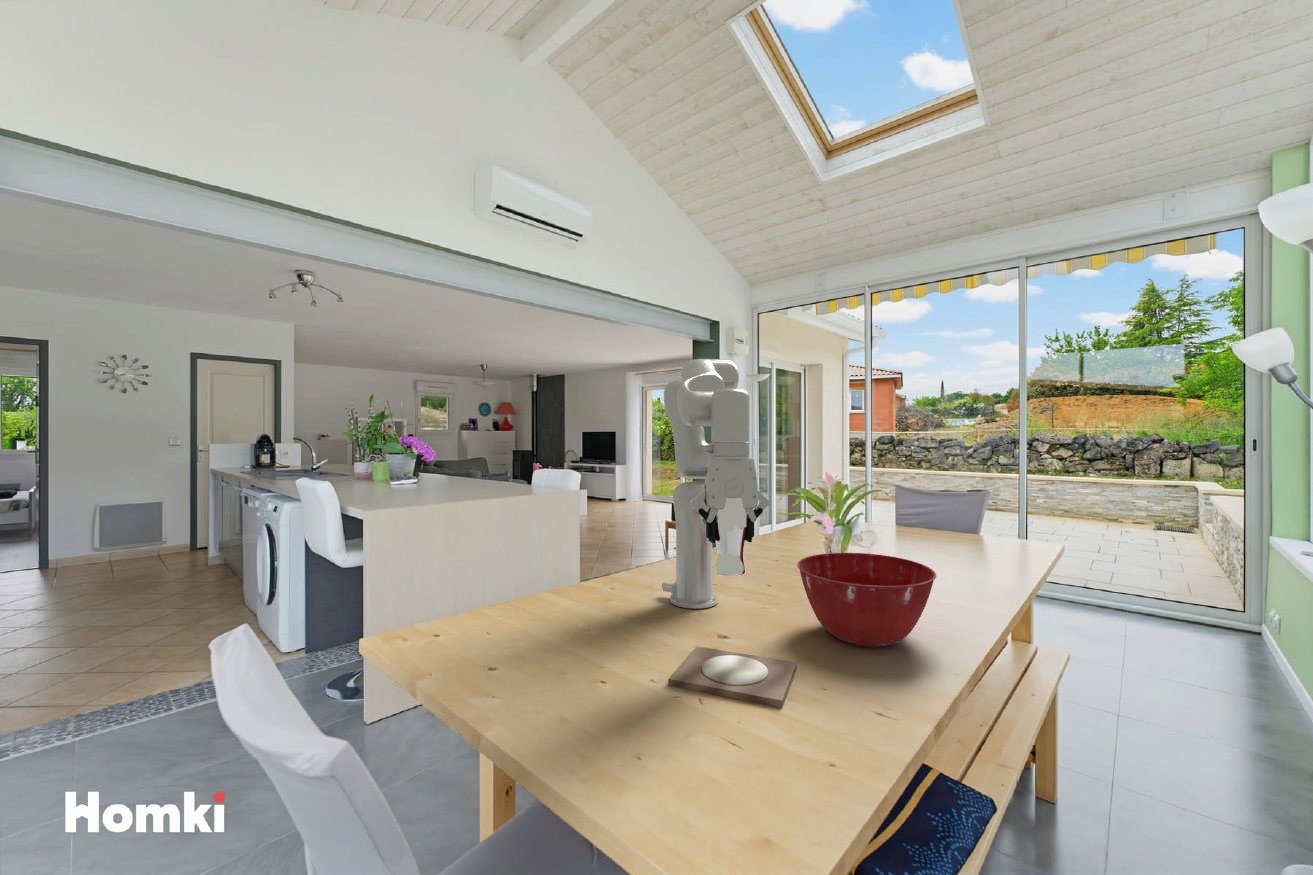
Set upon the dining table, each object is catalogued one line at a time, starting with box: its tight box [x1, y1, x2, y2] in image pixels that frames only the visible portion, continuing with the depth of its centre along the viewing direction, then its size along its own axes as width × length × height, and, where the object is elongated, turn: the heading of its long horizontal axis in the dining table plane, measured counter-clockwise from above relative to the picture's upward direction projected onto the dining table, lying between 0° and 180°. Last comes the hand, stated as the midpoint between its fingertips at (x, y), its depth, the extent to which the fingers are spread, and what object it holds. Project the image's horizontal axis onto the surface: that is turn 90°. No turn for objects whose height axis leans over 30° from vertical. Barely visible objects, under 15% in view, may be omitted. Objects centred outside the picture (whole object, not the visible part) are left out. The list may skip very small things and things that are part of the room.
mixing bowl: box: [796, 552, 937, 648], centre depth 122 cm, size 28×28×16 cm
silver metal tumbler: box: [714, 498, 748, 577], centre depth 110 cm, size 7×7×15 cm
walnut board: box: [667, 645, 798, 709], centre depth 101 cm, size 20×16×2 cm
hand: (730, 540), depth 110 cm, fingers closed on silver metal tumbler, 6 cm apart
